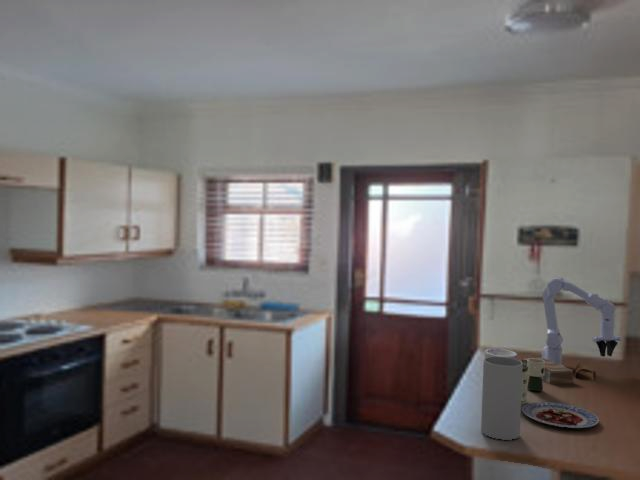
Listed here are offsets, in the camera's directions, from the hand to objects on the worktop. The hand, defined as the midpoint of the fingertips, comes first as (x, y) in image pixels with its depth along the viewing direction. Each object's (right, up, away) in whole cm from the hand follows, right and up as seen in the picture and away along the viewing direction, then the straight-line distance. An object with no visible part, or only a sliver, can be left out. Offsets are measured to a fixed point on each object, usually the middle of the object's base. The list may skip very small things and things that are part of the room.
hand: (606, 356), depth 270 cm
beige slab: (-32, -8, -7) cm, 34 cm away
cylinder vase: (-76, -10, -79) cm, 110 cm away
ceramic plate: (-49, -11, -63) cm, 81 cm away
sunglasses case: (-11, -9, -3) cm, 15 cm away
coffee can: (-59, -9, -43) cm, 74 cm away
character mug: (-45, -9, -29) cm, 55 cm away
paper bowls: (-49, -7, +6) cm, 50 cm away
